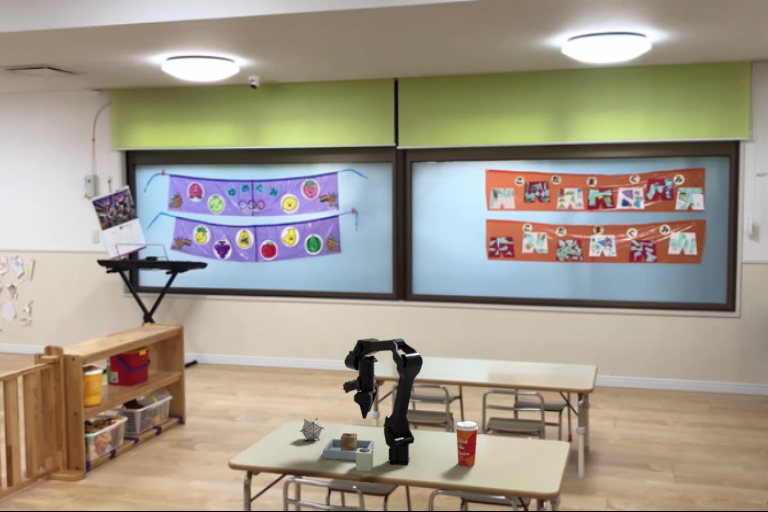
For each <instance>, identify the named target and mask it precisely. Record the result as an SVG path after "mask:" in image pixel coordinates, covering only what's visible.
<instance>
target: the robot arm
mask: <svg viewBox="0 0 768 512" xmlns="http://www.w3.org/2000/svg"><path fill="white" fill-rule="evenodd" d="M388 351H390V352H391V354H392V360H393V361H394V363H395V364H396V371H397V373H398V374H397V375H398V376H399V378H398V383H397V387H396V393H395V397H394V403H393V407H392V408H393V409H392V413H391V414H389V415H386V416H385V418H384V424H383V436H384V439H385V440H384V441H385V445H386V446H387V447H388V461H389V464H390V465H409V462H410V460H411V457H410V445H412V444H414V441H415V436H414V434H413V432H412V431H411V429H410V422H409V419H408V416H407V415H408V412H409V411H408V410H409V405H410V402H411V395H412V392H413V391H412V389H413V385H414V380H415V378H416V377H417V376H418V375H419V374H420V372H421V370H422V367H423V363H424V361H423V357H422V355H421V354H420V353H419V352H418V351H417V349H416V348H415V347H413V346H411V344H409V343H408V342H407V341H406V340H405V339H404V338H395V339H394V338H393V339H386V340H385V339H384V340H379V339H378V338H374V337H373V338H371V337H370V338H363V339H358V340H357V341H356V343H355V346H354V347H353V350H349V351H348V354H347V355H346V356H345V358H344V361H343V362H344V365H345V367H346V368H348V369H351V370H354V371H357V372H358V376H357V377H356V379H353V380H348V381H345V382H344V383H343V384H342V387H343V388H342V390H343V391H344V393H345V394H348V393H350V392H353V391H356V393H355V394H354V395H353V401H354V402H355V404H357V405H358V406H359V409H360V413H361V416H362V419H365V420H366V419H367V416H368V413H370V412H371V410H372V407H373V406H374V405H373V404H374V402H375V401H376V400H375V399H376V398H377V395H378V392H379V384H378V383H377V382H375V378H376V374H375V363H378V362H379V360H378V359H377V358H376V357H375V354H377V353H380V352H388ZM399 351H402V352H403V353H402V354H400V352H399Z"/></svg>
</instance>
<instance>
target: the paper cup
mask: <svg viewBox="0 0 768 512" xmlns="http://www.w3.org/2000/svg"><path fill="white" fill-rule="evenodd" d="M455 429H456V444H457V445H456V446H457V461H458V462H457V463H458V466H461V467H464V468H465V467H466V468H469V467H474V466H475V464H476V454H477V453H476V451H477V450H476V449H477V448H476V447H477V438H478V437H477V435H478V434H477V433H478V429H479V427H478V424H477V423H476V422H475V421H469V420H468V421H467V420H466V421H459V422H458V421H457V423H456V425H455ZM473 465H474V466H473Z"/></svg>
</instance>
